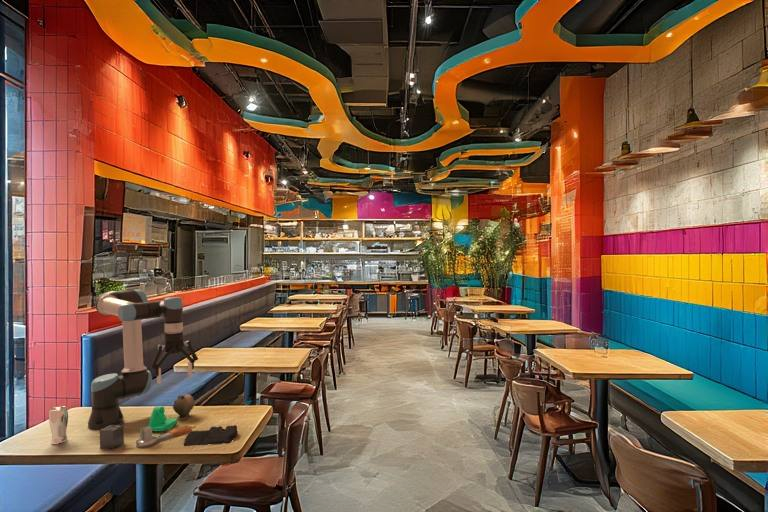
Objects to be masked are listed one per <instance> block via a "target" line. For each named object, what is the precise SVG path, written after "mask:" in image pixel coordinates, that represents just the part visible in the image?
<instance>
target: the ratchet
mask: <svg viewBox="0 0 768 512" xmlns="http://www.w3.org/2000/svg"><path fill="white" fill-rule="evenodd" d="M139 430H140V431H139V432H140V438H138V439H137V440H136V441H135V445H136V448H138V449H146V448H151V447H153V446H155V445H156V444H157V443H159V442H163V441H165V440H168V439H171V438H175V437H179V436H182V435H184V434H189V433H190V432H191V431H193V429H192V426H190V425H187V424H186V425H185V426H181V427H178V428H174V429H172V430H171V429H170V430H168V432H167V433H162V434H160V435H156V436H155V435H154V436H153V431H152V428H151V427H149V426H148V425H147V426H145V427H140V429H139Z"/></svg>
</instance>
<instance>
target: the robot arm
mask: <svg viewBox="0 0 768 512" xmlns="http://www.w3.org/2000/svg"><path fill="white" fill-rule="evenodd" d="M148 299H149V298H148V296H147V294H146V293H145V291H144V290H142V289H133V288H132V289H125V290H124V289H121V290H111V291H106V292H103V293H101V294H100V295H99V296H98V297H96V299H95V302H94V308H95V310H96V311H97V312H98V313H99V314H100V315H105V316H110V315H113V316H116V317H118V319H119V320H120V321H121V323H122V326H121V327H122V341H123V345H122V347H123V362H124V363H123V365H124V367H123V368H122V370H121V371H120V372H121V373H120V375H119V374H118V373H114V372H113V373H107V374H103V375H101V376H100V375H99V376H97V377H96V378H94V379H93V380H92V381H91V384H90V386H91V387H90V392H91V393H90V394H91V411H90V415H89V418H88V420H87V428H88V429H91V430H101V429H103V428H105V427H107V426H109V425H121V424H123V423H124V421H125V418H124V414H123V412H122V410H121V407H120V400H124V399H128V398H133V397H140V396H141V395H146V394H147V393H149V392H150V390H151V388H152V383H153V376H152V373H151V371H150V370H148V369H147V368H148V367H147V366H145V365H144V354H143V353H144V352H143V351H144V350H143V349H144V348H143V332H142V330H143V329H142V320H149V319H150V320H151V319H158V318H163V319H164V344H157V345H156V346H157V347H156V351H155V353H154V356H153V357H152V359H151V361H150V364H149V368H152V369H154V376H155V377H156V383H157V384H162V370H161V369H162V368H161V366H162V364H163V363H164V361H165V360H166V359H167V357H168V356H169V355H171V354H172V355H173V354H178V353H181V354H182V355H183V356H184V357H185V358H186V360H188V361H187V377H189V378H193V370H194V368H195V362H196V361H198V360H199V358H198V356H197V354H196V352H195V350H194V348H193V347H192V345H191V341H190V340H186V341H184V332H183V330H184V320H183V319H184V318H183V317H184V316H183V314H184V311H183V310H184V309H183V307H184V305H183V298H182V297H180V296H171V297H170V296H169V297H165V298H164V299H160V300H155V301H149V300H148ZM184 346H185V347H186V348H187V350H188V352H189V353H188V352H187V351H186V350H185V349H184V348H183V347H184ZM164 349H165V350H164ZM163 350H164V351H163ZM162 351H163V352H162ZM161 354H162V355H161ZM160 355H161V356H160ZM190 355H191V356H190Z"/></svg>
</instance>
